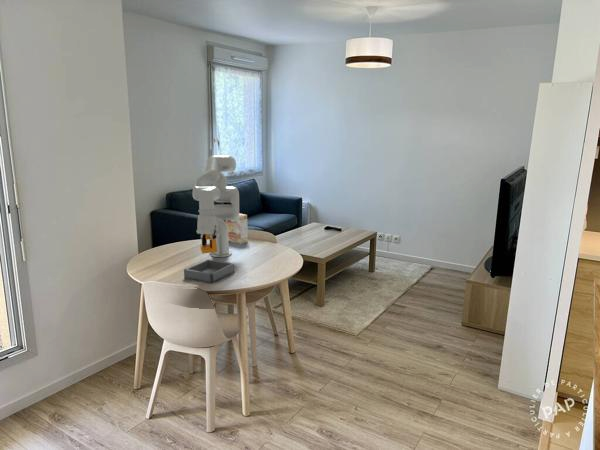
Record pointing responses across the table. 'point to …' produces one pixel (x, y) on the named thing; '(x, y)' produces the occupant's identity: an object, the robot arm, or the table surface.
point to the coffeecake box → (238, 229)
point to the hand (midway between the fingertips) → (208, 245)
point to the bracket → (207, 247)
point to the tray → (209, 271)
